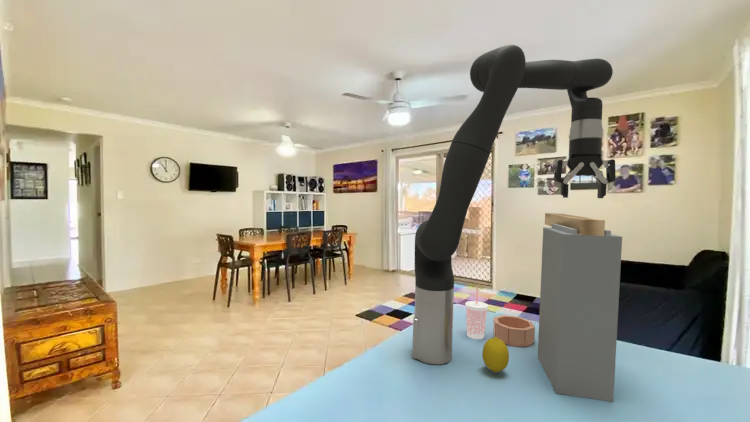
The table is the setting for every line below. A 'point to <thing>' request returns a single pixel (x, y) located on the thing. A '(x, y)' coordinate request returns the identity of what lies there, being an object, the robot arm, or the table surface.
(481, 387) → the table surface
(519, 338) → the bowl
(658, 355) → the table surface
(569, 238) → the shelf block
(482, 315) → the beverage cup
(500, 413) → the table surface
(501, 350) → the lemon
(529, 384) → the table surface
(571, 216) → the slat
